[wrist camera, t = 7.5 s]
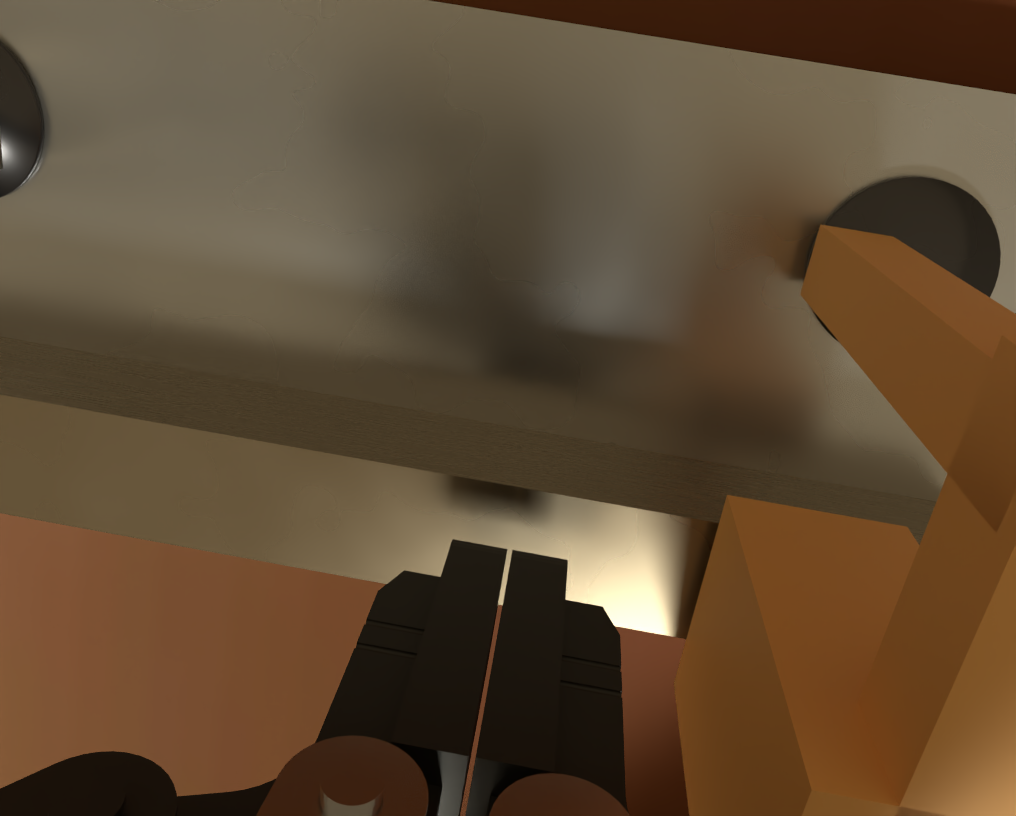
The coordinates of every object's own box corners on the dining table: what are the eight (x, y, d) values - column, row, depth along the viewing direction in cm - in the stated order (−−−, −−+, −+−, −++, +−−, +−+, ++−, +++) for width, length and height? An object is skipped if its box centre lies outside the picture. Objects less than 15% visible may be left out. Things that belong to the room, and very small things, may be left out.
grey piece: (-89, 439, 17) (-368, 596, 12) (-162, -93, 13) (-599, -175, 8) (899, 618, 16) (1028, 861, 11) (1102, 110, 12) (1414, 146, 8)
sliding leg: (665, 609, 14) (714, 1039, 8) (773, 201, 12) (973, 373, 6) (808, 635, 14) (970, 1090, 8) (950, 230, 12) (1354, 438, 5)
